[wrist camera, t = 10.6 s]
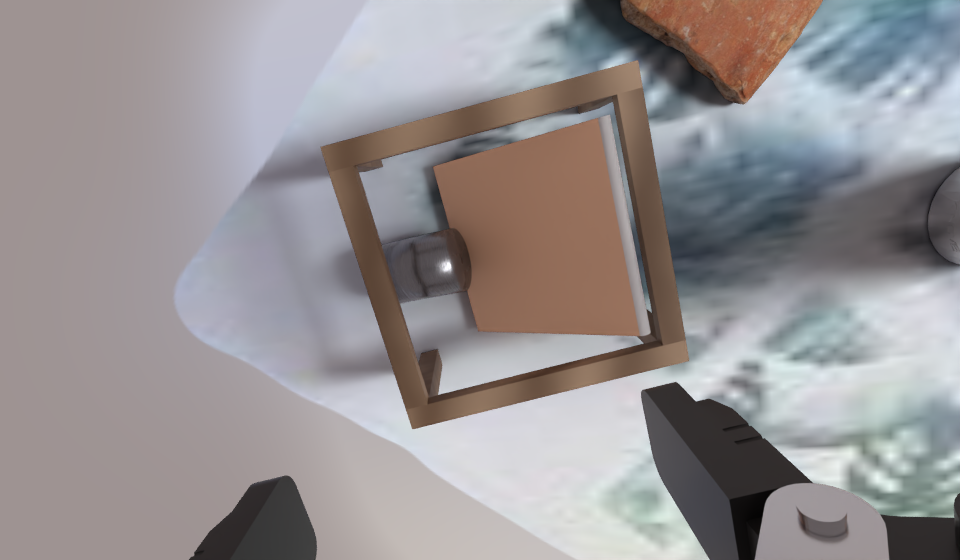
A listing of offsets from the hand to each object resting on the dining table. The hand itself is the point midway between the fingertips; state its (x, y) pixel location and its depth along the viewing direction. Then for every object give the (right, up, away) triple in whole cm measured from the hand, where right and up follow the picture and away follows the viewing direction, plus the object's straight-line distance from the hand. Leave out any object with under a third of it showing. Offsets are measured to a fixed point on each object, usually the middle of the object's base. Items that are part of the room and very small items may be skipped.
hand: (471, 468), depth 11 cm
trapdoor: (+4, +7, +24) cm, 25 cm away
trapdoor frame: (+2, +8, +29) cm, 30 cm away
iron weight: (-1, +6, +25) cm, 26 cm away
